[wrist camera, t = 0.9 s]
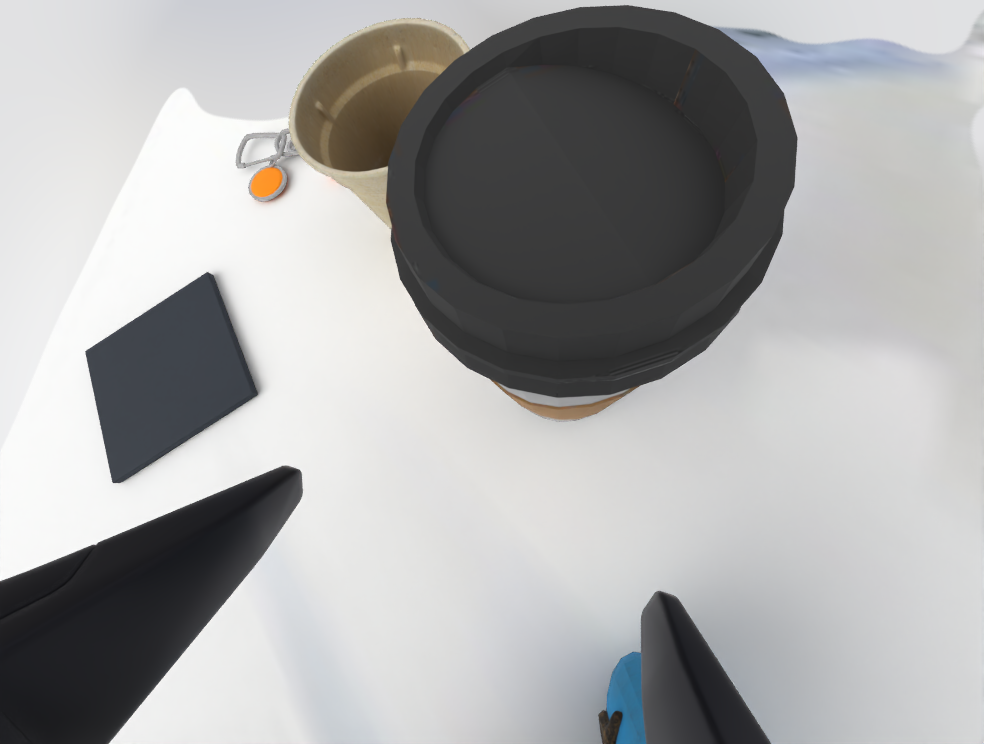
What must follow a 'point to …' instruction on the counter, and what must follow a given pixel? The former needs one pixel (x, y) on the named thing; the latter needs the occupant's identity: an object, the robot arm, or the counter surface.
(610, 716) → the ornament
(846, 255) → the counter surface
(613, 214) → the coffee cup
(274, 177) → the key chain
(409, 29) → the flower pot
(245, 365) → the mat
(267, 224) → the counter surface
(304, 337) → the counter surface
